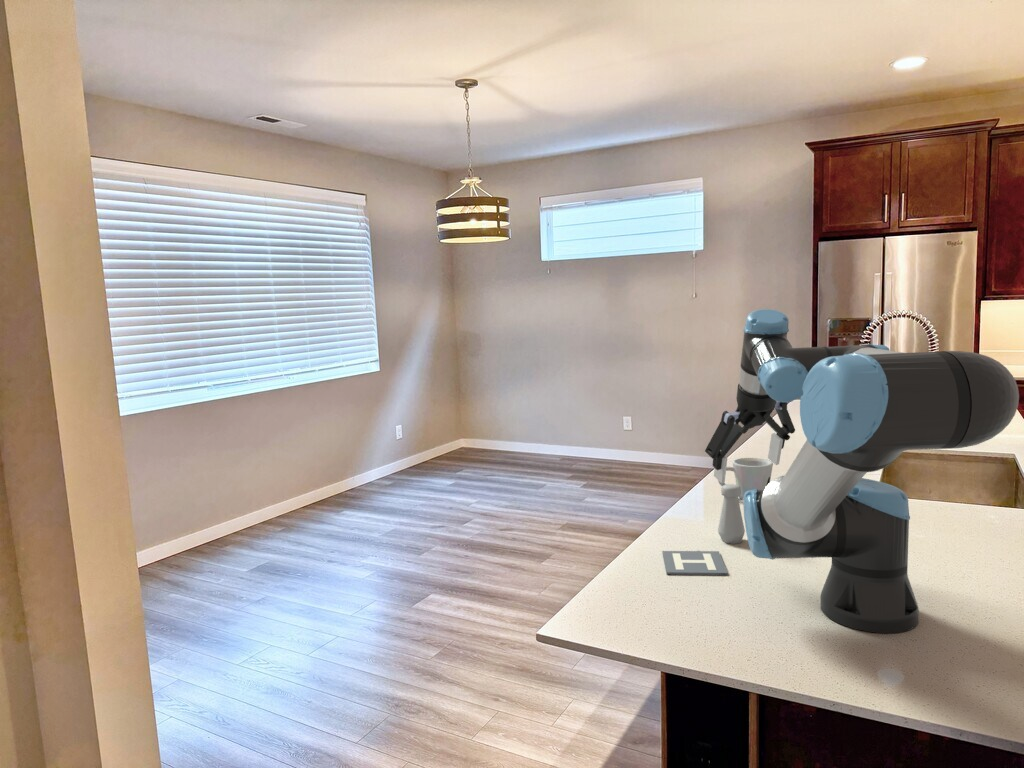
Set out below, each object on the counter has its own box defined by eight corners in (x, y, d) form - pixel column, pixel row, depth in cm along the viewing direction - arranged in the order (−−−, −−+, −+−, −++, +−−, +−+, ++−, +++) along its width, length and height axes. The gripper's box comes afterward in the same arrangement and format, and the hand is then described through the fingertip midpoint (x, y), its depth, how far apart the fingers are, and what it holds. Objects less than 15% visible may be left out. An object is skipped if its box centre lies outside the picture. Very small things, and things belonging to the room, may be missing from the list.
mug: (778, 502, 185) (778, 465, 184) (722, 504, 186) (722, 467, 184) (765, 491, 196) (765, 456, 194) (712, 493, 196) (711, 458, 195)
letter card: (727, 575, 139) (727, 572, 139) (666, 574, 141) (666, 572, 141) (718, 553, 151) (718, 551, 151) (662, 553, 153) (662, 550, 153)
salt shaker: (727, 546, 155) (726, 490, 153) (713, 538, 160) (712, 483, 159) (750, 543, 156) (749, 486, 155) (735, 535, 162) (735, 480, 160)
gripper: (797, 361, 142) (783, 444, 153) (692, 392, 135) (685, 476, 147) (823, 379, 136) (807, 463, 147) (714, 411, 129) (706, 497, 141)
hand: (746, 470), depth 147 cm, fingers open, 13 cm apart
